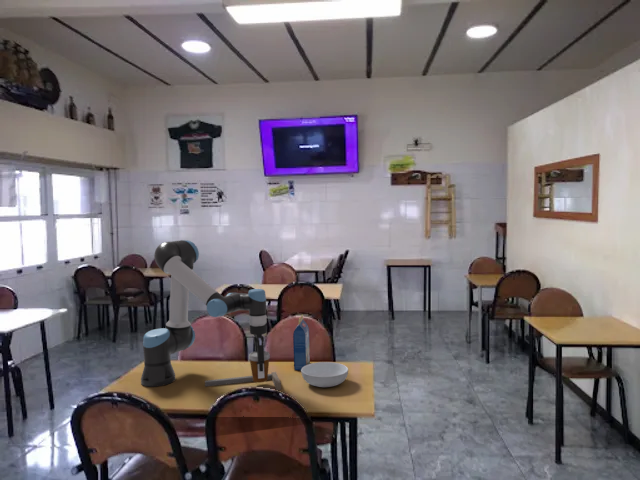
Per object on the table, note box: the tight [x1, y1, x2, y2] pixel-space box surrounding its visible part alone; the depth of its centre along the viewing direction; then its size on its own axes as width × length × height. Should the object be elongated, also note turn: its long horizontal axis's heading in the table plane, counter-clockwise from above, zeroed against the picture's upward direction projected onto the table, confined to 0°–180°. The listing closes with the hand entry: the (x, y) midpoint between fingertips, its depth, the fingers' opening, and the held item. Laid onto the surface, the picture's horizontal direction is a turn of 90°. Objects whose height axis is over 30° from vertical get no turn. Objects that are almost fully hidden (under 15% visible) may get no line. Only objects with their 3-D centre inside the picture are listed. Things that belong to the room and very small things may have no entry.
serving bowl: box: [300, 361, 349, 388], centre depth 215 cm, size 21×21×7 cm
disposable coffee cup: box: [248, 350, 271, 383], centre depth 215 cm, size 10×10×12 cm
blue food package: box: [292, 314, 311, 371], centre depth 240 cm, size 6×12×25 cm, turn 173°
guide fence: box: [204, 371, 282, 391], centre depth 214 cm, size 32×16×3 cm, turn 103°
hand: (260, 374), depth 215 cm, fingers closed on disposable coffee cup, 8 cm apart
